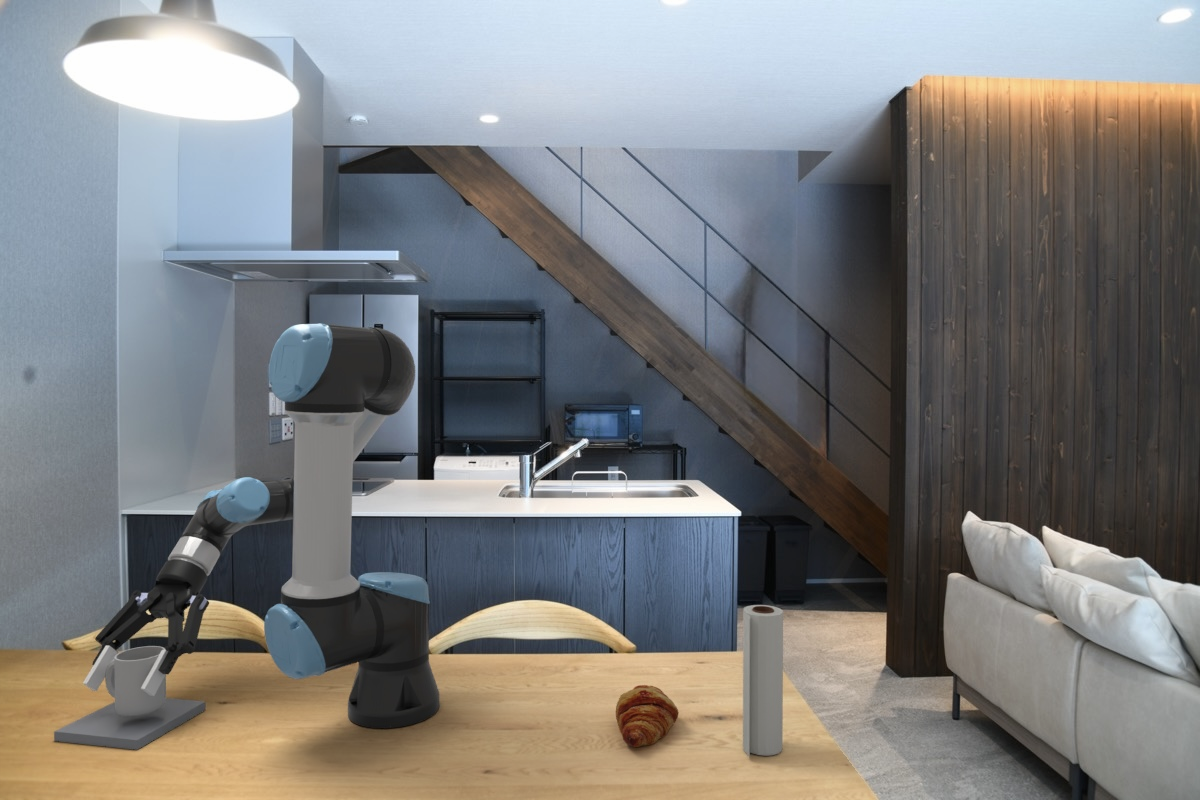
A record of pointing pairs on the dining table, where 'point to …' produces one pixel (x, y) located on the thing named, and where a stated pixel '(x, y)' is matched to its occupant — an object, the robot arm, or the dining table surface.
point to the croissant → (645, 715)
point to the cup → (134, 681)
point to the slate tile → (128, 725)
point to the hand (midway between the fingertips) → (118, 689)
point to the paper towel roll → (762, 680)
